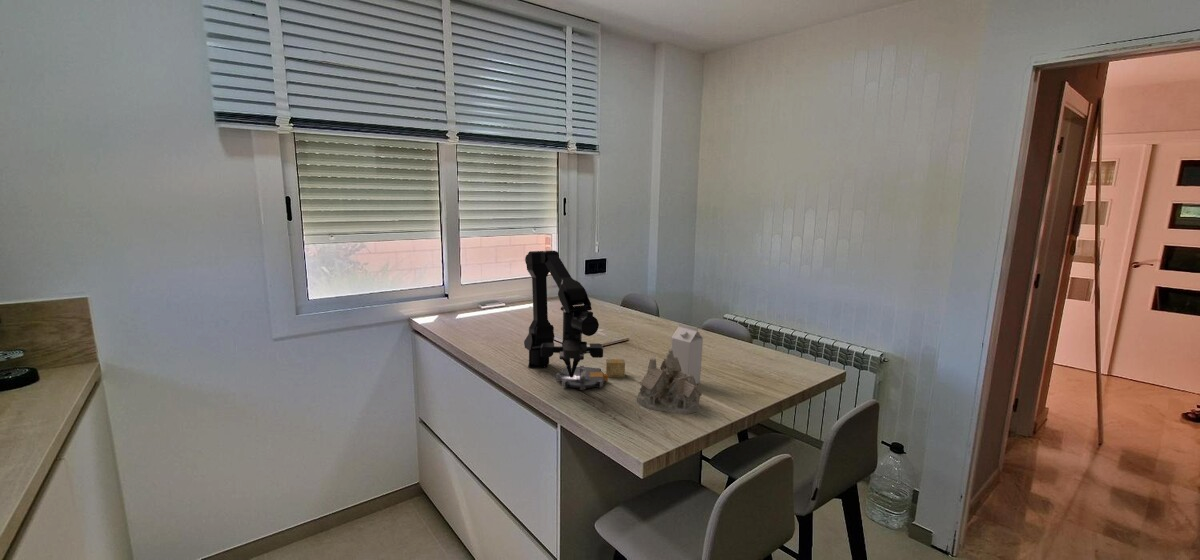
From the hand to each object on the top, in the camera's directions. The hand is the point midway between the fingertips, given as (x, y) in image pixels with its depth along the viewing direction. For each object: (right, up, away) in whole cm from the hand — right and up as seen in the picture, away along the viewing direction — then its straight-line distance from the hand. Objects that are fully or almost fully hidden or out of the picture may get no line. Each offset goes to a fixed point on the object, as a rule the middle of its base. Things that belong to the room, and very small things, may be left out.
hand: (571, 377), depth 146 cm
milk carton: (+36, -4, +8) cm, 37 cm away
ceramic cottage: (+28, -6, -8) cm, 30 cm away
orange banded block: (+14, -2, +13) cm, 19 cm away
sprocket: (+3, -3, +6) cm, 7 cm away
